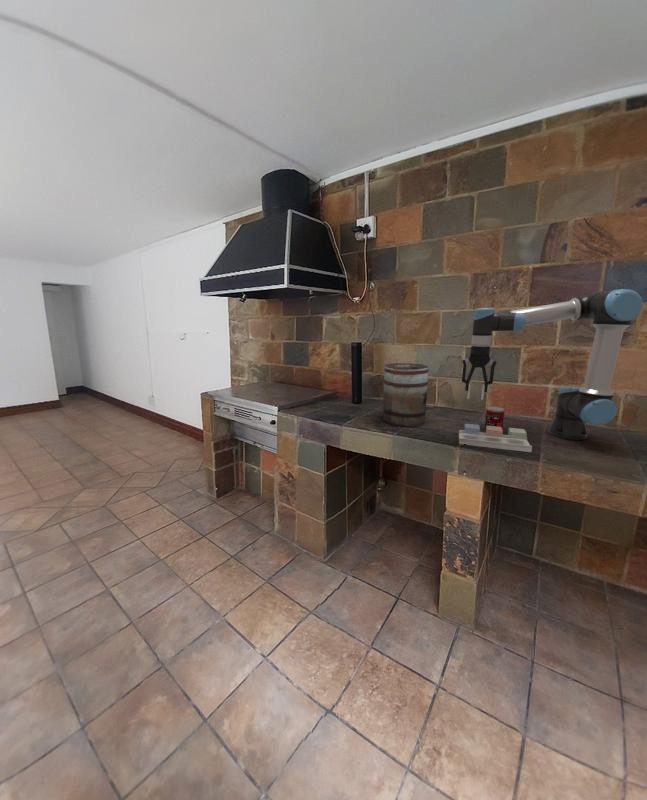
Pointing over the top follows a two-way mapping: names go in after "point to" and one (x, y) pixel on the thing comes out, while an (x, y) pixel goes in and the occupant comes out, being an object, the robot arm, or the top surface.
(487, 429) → the key
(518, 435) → the key
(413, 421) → the barrel
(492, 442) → the keypad base
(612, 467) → the top surface
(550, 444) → the top surface
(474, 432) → the key
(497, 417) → the canned food
